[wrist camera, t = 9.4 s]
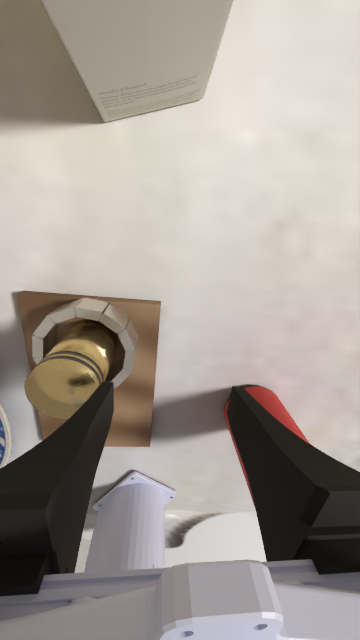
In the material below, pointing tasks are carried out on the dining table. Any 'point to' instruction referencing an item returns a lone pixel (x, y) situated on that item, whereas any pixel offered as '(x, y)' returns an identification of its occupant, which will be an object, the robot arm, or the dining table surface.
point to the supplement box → (141, 49)
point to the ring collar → (95, 311)
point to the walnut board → (137, 388)
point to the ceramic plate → (4, 437)
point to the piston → (72, 369)
